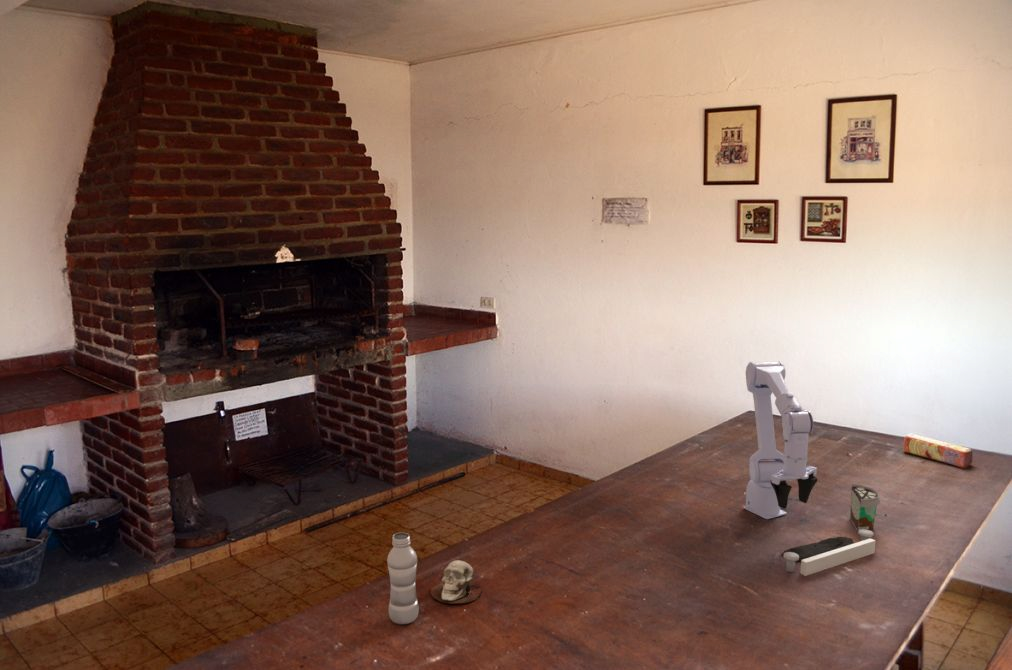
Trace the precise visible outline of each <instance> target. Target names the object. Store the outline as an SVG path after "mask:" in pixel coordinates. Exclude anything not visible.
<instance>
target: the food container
mask: <svg viewBox="0 0 1012 670" xmlns="http://www.w3.org/2000/svg"><path fill="white" fill-rule="evenodd" d="M850 487H851V488H850V491H851V492H850V513H849V519H850V521H851V523H852V524H853V526H854V529H855V530H856V532H857V533H858V531H859V530H861V529H865V530H870V531H873V530H874V526H875V525H874V524H875V521H876V515H877V514H876V513H877V509H878V508H877V507H878V506H879V505H880V504H881V499H880V494H879V492H878V491H877V490H876V489H874V488H872V487H871V486H870V487H869V486H866V485H862V484H856V483H852V484H851V486H850Z"/></svg>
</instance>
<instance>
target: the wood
mask: <svg viewBox="0 0 1012 670" xmlns="http://www.w3.org/2000/svg"><path fill="white" fill-rule="evenodd" d="M851 544H854V541H853V538H851V537H847V536H836V537H829V538H826V539H822V540H820V541H818V542H814V543H813V542H812V543H809V544H803V545H799V546H794V547H791V548H788V549H785V550H784V551H783V552H782V553H781V556H782V557H783V555H784V553H786V552H793V553H796V554H798V555H799V560H797V561H795V563H801V560H803V559H806V558H809V557H813V556H816V555H819V554H822V553H825V552H829V551H832V550H835V549H838V548H841V547H844V546H848V545H851Z"/></svg>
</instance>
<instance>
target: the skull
mask: <svg viewBox="0 0 1012 670" xmlns="http://www.w3.org/2000/svg"><path fill="white" fill-rule="evenodd" d="M474 579H475V572H474V568H473V567H472V565H471V564H469V563H467V562H466V561H464V560H458V559H456V560H453V561H451V562H450V563H449V564H447V566H446V568H445V569H444V570H443V577H442V579H441V582H440V583H437V585H434V586H433V587H432V588H431V590H430V595H431V596H432V598H433V599H435V600H437V601H438V602H442V603H444V604H446V603H447V604H455V605H456V604H466V603H471V602H472V601H473V602H474V601H476V600H477V599H479V597H478V596H477V595H480V594H476V596H477V597H475V596H474V595H475V594H472V593H471V594H470V595H469V593H468V592H469V591H470V588H471V587H472V586H473V584H474ZM443 583H444V584H443ZM468 595H469V596H468Z"/></svg>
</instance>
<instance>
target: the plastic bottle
mask: <svg viewBox="0 0 1012 670" xmlns="http://www.w3.org/2000/svg"><path fill="white" fill-rule="evenodd" d="M391 544H392V546H393V547H392V548H391V549H390V550H389V551H390V552H389V553H388V555H387V559H386V561H387V562H386V563H387V569H388V574H389V581H390V582H389V583H390V595H389V596H390V597H389V603H388V615H389V619H390V620H391V621H392V623H395V624H397V625H408V624H411V623H413V622H414V621H416V619H417V617H418V616H419V611H420V607H419V602H418V601H419V600H418V597H417V588H416V578H417V577H416V575H417V574H416V573H417V567H418V566H417V565H418V555H417V552H416V551H415V550H414V548H412V547H411V546H410V545H411V537H410V533H407V532H397V533H394V534H392V543H391Z"/></svg>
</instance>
